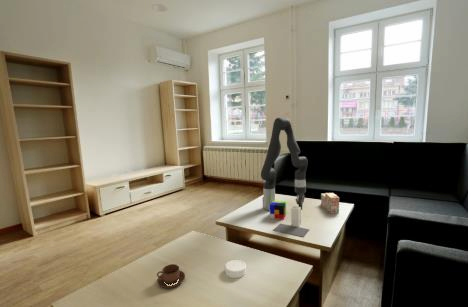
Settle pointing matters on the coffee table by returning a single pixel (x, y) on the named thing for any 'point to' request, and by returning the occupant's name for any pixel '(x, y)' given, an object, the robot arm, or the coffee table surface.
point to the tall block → (295, 216)
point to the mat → (291, 230)
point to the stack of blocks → (330, 202)
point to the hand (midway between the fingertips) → (300, 209)
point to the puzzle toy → (278, 209)
